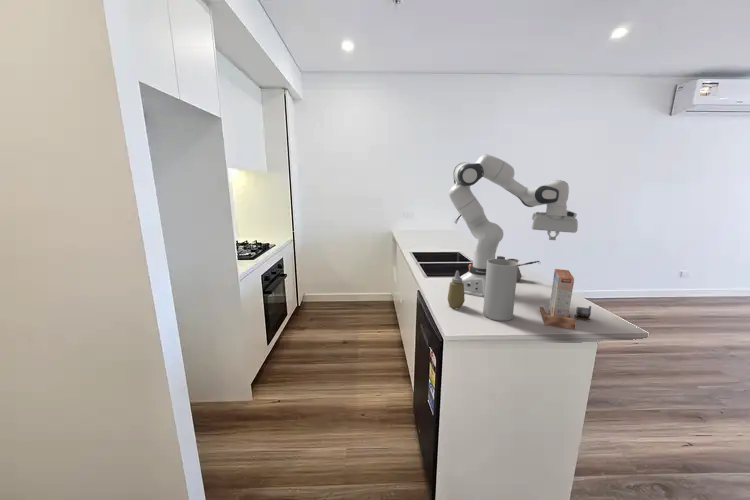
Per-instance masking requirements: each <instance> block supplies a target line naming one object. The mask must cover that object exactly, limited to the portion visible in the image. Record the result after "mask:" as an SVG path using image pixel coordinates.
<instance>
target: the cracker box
mask: <svg viewBox="0 0 750 500" xmlns="http://www.w3.org/2000/svg"><path fill="white" fill-rule="evenodd" d="M574 283H575V277H574V276H573V274H572V273H571V271H570V270H568V269H559V268H554V273H553V281H552V287H551V293H550V295H551V296H550V301H549V309H548V312H549V315H551V316H559V317H566V318H568V316H569V314H570V309H571V302H572V301H571V300H572V296H573V291H574V290H573V289H574Z"/></svg>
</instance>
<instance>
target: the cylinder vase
mask: <svg viewBox="0 0 750 500" xmlns="http://www.w3.org/2000/svg"><path fill="white" fill-rule="evenodd" d="M518 265H519V262H518V263H517V262H515V261H512V260H507V259H506V258H505V259H497V258H495V259H489V260H487V269H486V282H485V294H484V296H483V297H484V298H483V310H482V311H483V313H482V314H483V315H484V316H485V317H486V318H488V319H491V320H494V321H498V322H507V321H510V320H512V319H513V318H514V309H515V308H514V307H515V298H516V289H517V281H516V280H517V270H518V267H519V266H518Z"/></svg>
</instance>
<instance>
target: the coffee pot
mask: <svg viewBox="0 0 750 500" xmlns="http://www.w3.org/2000/svg"><path fill="white" fill-rule="evenodd" d="M506 260H512V261H515V262H517V263H518V270H517V280H516V282H518V281H520V280H521V279H522V277H523V276H522V273H521V270H520V268H519V267H520V266H522V267H523V266H528V265H533V264H536V263H538V264H540V263H541V261H540V260H535V261H530V262H526V263H525V262H524V263H521V264H519V261H520V260H519V259H517V258H507V259H506Z"/></svg>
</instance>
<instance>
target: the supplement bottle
mask: <svg viewBox="0 0 750 500" xmlns="http://www.w3.org/2000/svg"><path fill="white" fill-rule="evenodd" d="M496 259H506V256H501V255H498V256H496Z"/></svg>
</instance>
